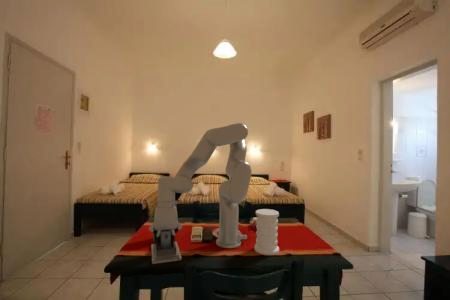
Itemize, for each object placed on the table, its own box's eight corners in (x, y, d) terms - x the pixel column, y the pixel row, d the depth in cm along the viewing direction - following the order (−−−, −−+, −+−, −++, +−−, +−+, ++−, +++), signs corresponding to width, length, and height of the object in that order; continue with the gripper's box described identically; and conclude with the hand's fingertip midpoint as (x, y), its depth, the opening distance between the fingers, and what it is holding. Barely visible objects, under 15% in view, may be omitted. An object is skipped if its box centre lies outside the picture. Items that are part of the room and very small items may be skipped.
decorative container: (279, 256, 104) (280, 216, 104) (253, 253, 107) (254, 214, 106) (278, 245, 116) (279, 209, 116) (255, 243, 118) (255, 208, 118)
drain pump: (170, 243, 109) (171, 226, 109) (172, 248, 103) (172, 230, 103) (159, 244, 108) (159, 226, 108) (160, 250, 102) (160, 231, 102)
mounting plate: (176, 243, 117) (176, 236, 117) (181, 260, 99) (181, 251, 99) (151, 246, 113) (151, 239, 113) (152, 264, 96) (152, 255, 96)
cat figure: (276, 240, 127) (262, 222, 152) (276, 224, 126) (263, 208, 151) (258, 240, 126) (248, 222, 150) (259, 225, 125) (248, 209, 150)
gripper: (183, 201, 112) (183, 239, 112) (146, 203, 107) (145, 242, 107) (186, 204, 105) (185, 245, 105) (146, 207, 100) (145, 249, 100)
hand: (165, 243), depth 106 cm, fingers closed on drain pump, 5 cm apart
